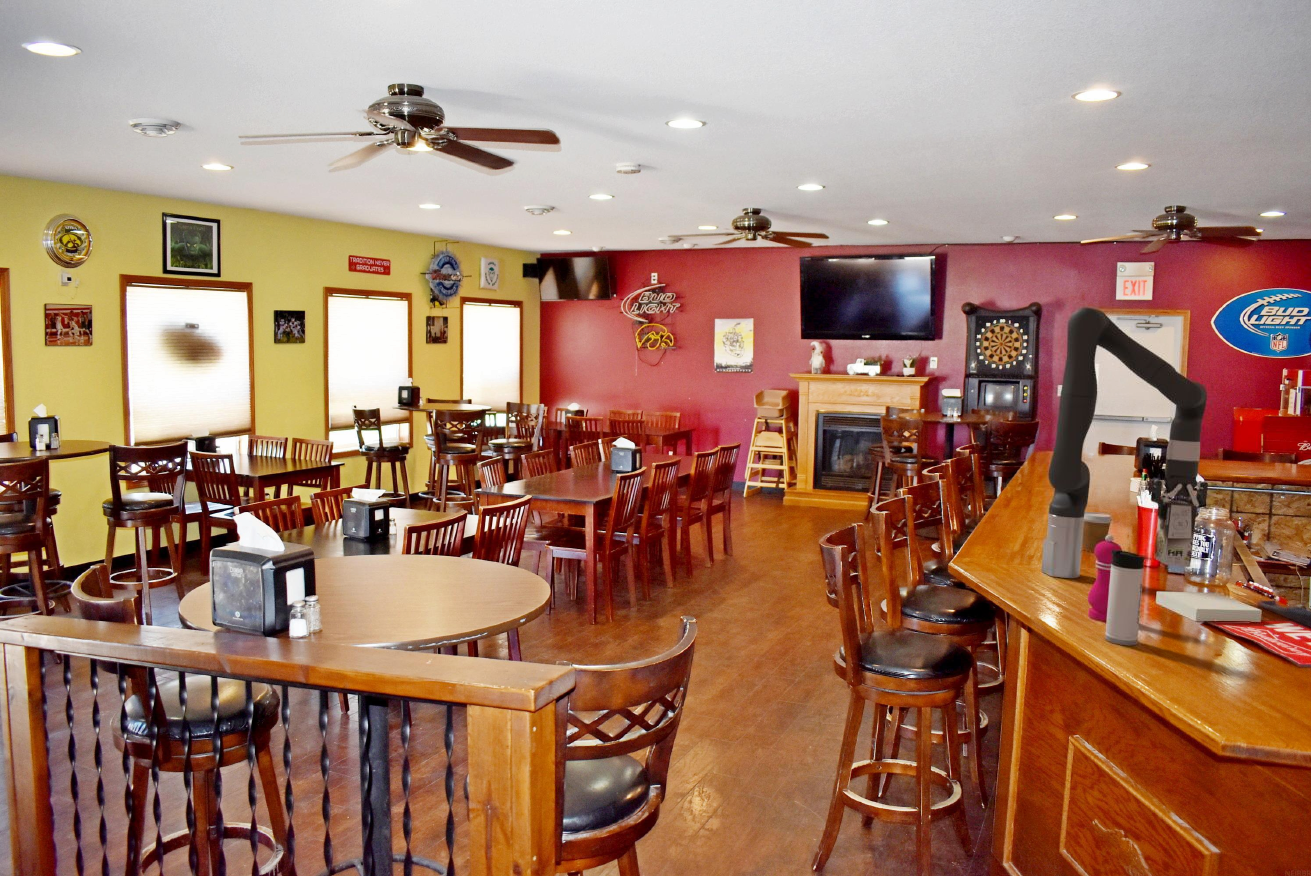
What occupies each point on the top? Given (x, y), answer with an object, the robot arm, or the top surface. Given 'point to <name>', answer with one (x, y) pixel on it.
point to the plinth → (1208, 606)
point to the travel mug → (1124, 598)
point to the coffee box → (1176, 534)
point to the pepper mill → (1102, 579)
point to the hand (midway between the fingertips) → (1176, 519)
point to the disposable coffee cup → (1095, 529)
